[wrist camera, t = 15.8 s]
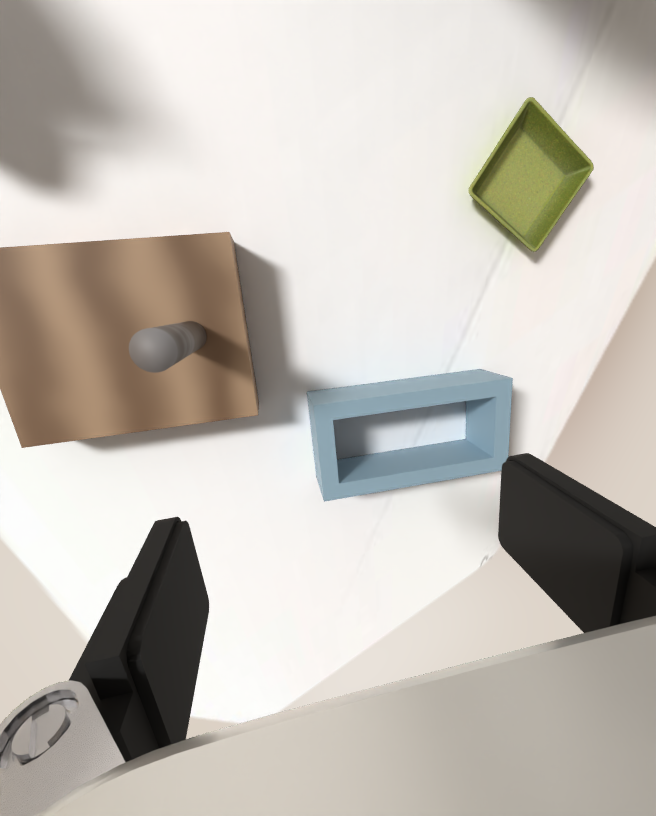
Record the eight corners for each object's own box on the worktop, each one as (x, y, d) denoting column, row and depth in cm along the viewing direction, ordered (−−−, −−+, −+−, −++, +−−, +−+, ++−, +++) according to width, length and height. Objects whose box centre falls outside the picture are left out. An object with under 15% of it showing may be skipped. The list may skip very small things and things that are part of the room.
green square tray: (454, 198, 32) (467, 190, 30) (513, 106, 31) (530, 92, 29) (519, 257, 34) (535, 253, 32) (576, 174, 33) (596, 165, 31)
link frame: (480, 368, 37) (512, 378, 32) (478, 449, 39) (507, 469, 34) (306, 391, 34) (313, 405, 29) (316, 476, 37) (323, 501, 32)
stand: (233, 241, 30) (208, 188, 16) (258, 403, 34) (254, 465, 20) (-7, 259, 27) (-266, 212, 14) (51, 430, 31) (-107, 522, 18)
